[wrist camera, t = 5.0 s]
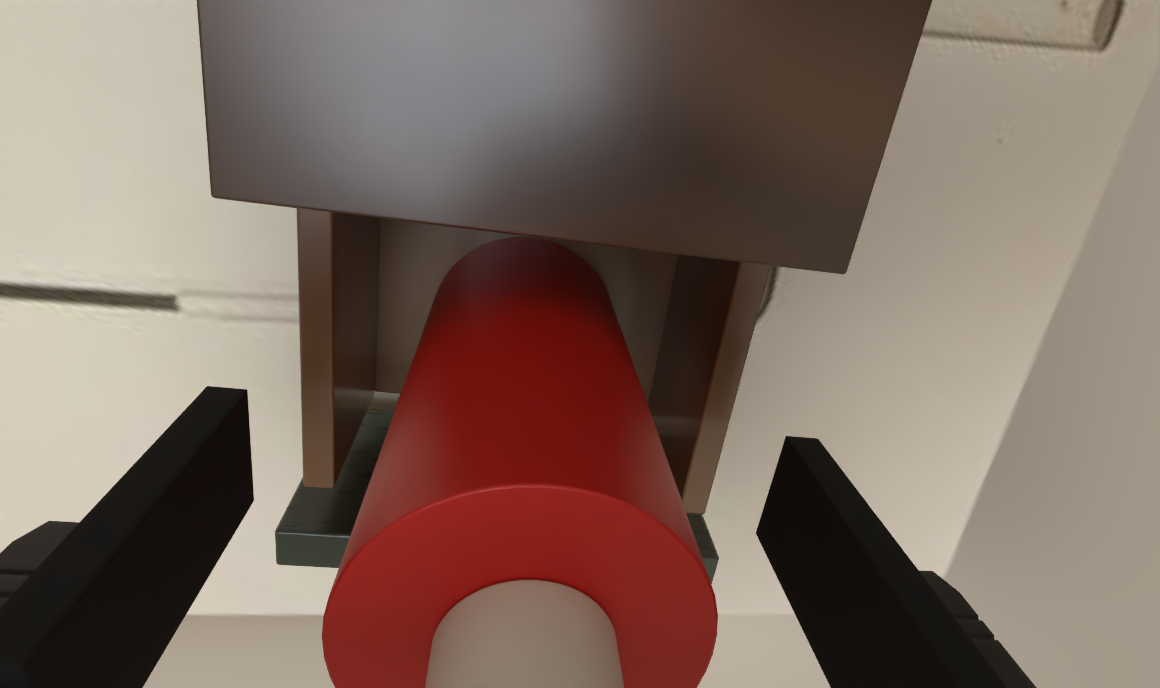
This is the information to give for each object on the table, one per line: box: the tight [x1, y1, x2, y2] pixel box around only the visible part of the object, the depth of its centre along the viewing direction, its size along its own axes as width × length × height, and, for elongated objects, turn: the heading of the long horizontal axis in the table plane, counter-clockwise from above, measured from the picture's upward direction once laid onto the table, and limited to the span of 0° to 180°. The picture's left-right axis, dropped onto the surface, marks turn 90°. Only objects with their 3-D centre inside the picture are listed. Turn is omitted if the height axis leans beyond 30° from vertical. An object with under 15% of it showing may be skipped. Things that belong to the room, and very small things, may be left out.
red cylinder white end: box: [322, 237, 718, 688], centre depth 15 cm, size 6×6×15 cm
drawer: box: [275, 208, 771, 584], centre depth 20 cm, size 19×12×7 cm, turn 172°
